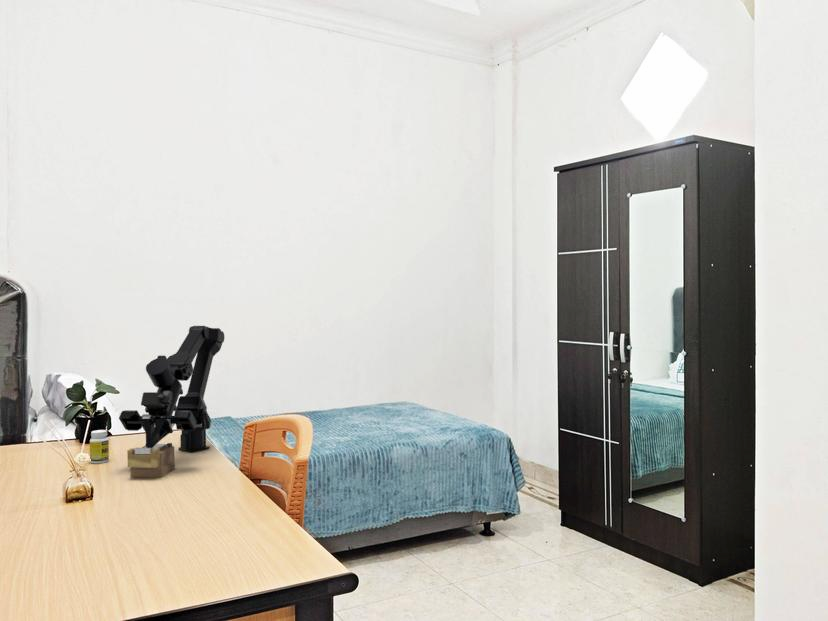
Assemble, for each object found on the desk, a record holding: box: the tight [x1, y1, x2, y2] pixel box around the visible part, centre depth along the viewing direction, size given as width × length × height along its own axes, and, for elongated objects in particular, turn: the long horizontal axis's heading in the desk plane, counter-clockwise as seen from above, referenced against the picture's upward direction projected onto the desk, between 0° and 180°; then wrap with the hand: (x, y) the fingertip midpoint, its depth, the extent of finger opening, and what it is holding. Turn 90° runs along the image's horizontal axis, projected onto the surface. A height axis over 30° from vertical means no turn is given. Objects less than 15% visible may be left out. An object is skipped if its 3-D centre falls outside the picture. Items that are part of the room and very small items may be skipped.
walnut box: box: [126, 442, 176, 478], centre depth 174 cm, size 10×8×7 cm
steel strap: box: [134, 443, 168, 454], centre depth 175 cm, size 10×4×2 cm, turn 176°
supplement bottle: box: [89, 429, 110, 464], centre depth 188 cm, size 5×5×8 cm
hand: (148, 448), depth 173 cm, fingers closed, pressing on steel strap
